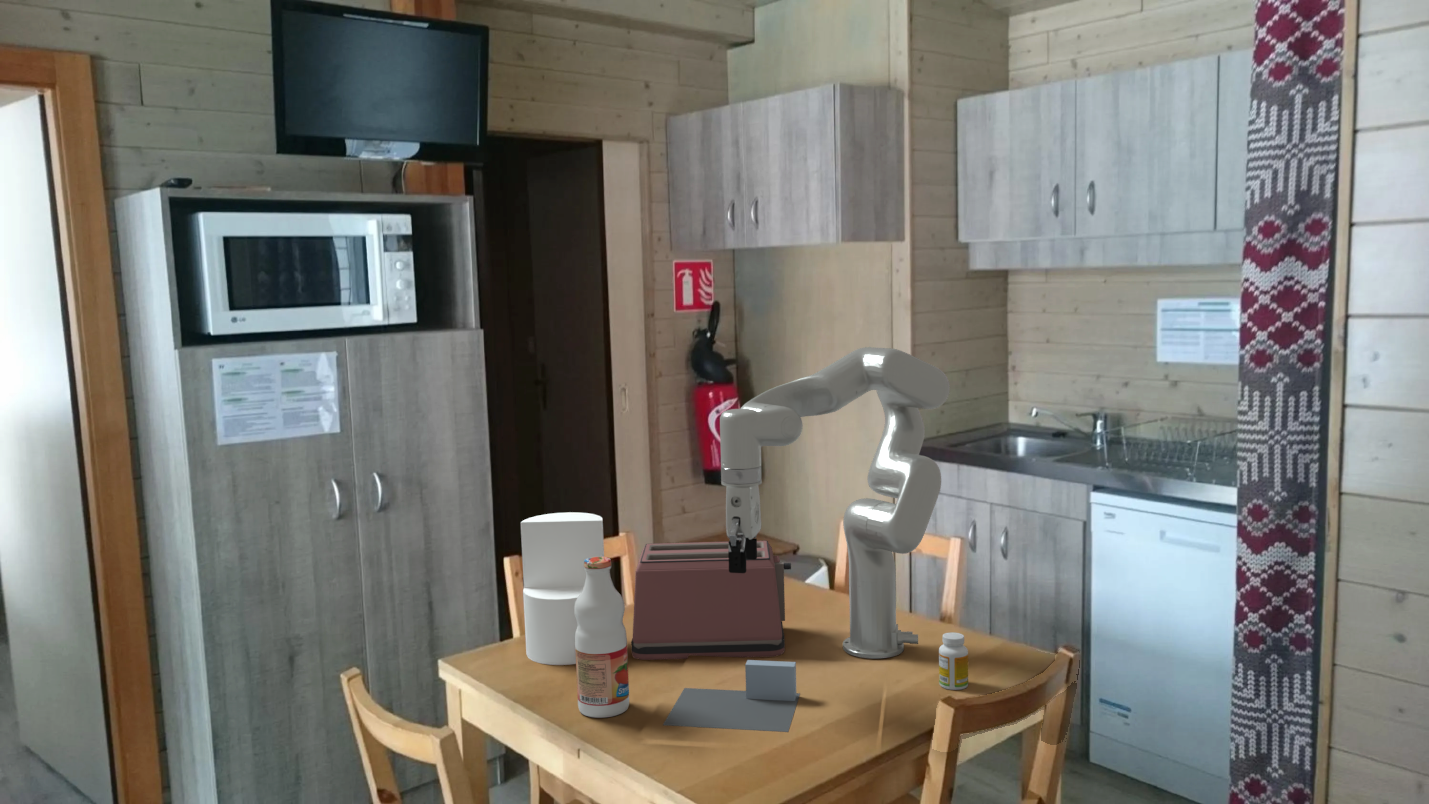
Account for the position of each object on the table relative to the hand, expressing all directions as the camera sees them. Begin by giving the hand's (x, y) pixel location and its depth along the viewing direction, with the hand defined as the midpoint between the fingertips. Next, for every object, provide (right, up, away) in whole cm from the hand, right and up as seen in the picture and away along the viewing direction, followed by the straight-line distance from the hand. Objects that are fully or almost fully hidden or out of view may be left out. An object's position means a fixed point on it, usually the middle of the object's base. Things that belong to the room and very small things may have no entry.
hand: (743, 565), depth 202 cm
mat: (-2, -25, -8) cm, 27 cm away
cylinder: (-37, -22, +27) cm, 51 cm away
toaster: (-6, -21, +29) cm, 36 cm away
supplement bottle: (+40, -23, +1) cm, 46 cm away
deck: (+5, -24, -4) cm, 24 cm away
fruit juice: (-26, -26, -5) cm, 37 cm away
